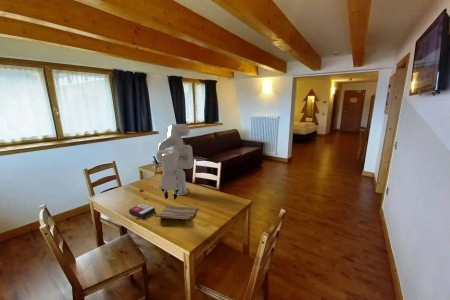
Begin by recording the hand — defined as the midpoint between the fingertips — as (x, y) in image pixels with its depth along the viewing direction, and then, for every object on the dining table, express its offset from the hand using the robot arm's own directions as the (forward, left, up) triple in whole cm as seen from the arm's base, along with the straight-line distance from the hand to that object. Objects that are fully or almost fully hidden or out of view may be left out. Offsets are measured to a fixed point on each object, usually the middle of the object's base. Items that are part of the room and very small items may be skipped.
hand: (171, 198), depth 137 cm
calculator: (-9, -27, -18) cm, 33 cm away
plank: (-2, 0, -15) cm, 15 cm away
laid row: (-13, 0, -17) cm, 22 cm away
